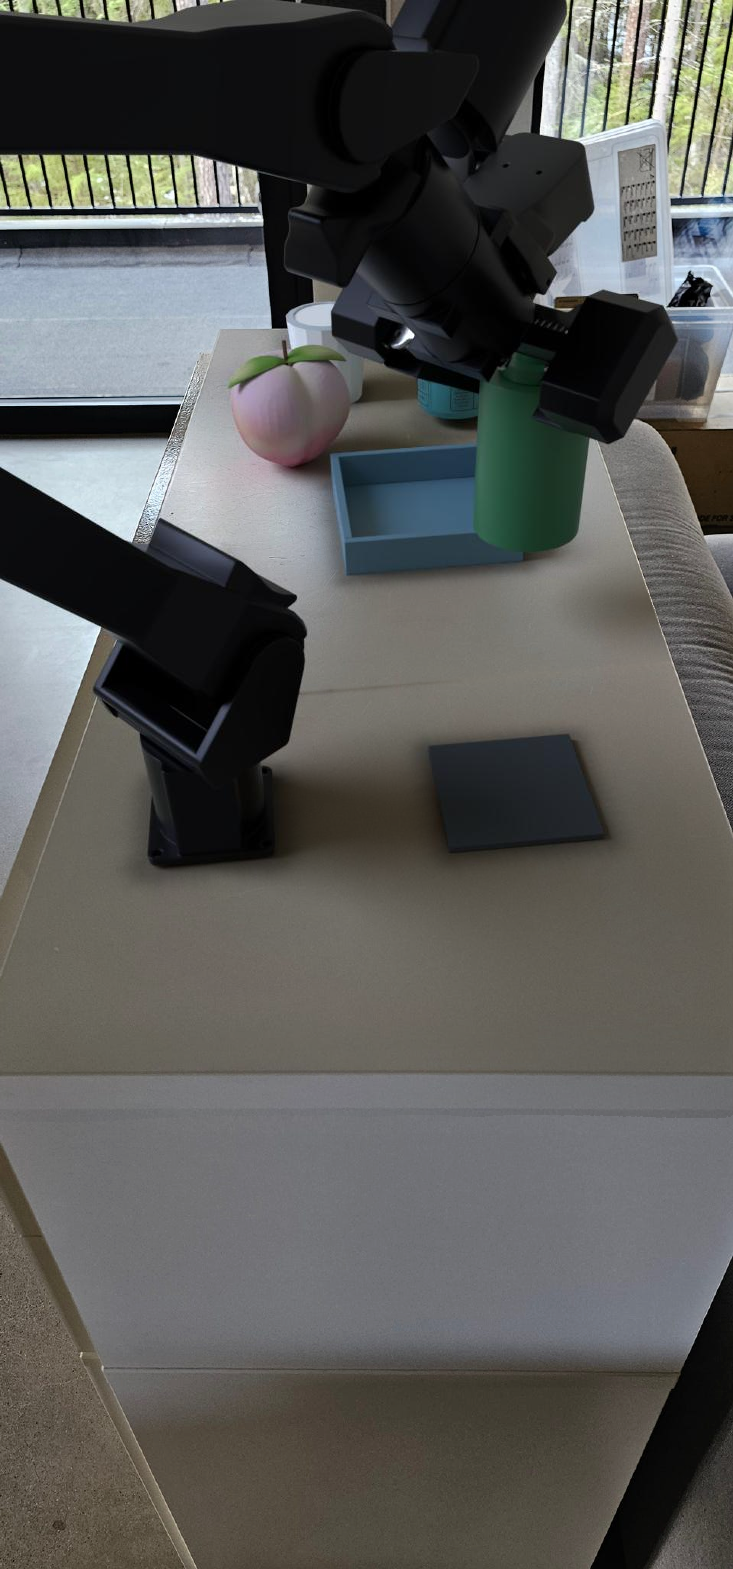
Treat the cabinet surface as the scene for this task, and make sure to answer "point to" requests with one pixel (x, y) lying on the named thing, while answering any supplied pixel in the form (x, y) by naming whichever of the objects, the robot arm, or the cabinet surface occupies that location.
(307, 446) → the decorative fruit
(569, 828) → the mat
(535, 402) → the green bottle
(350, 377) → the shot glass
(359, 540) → the tray
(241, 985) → the cabinet surface
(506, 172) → the robot arm
